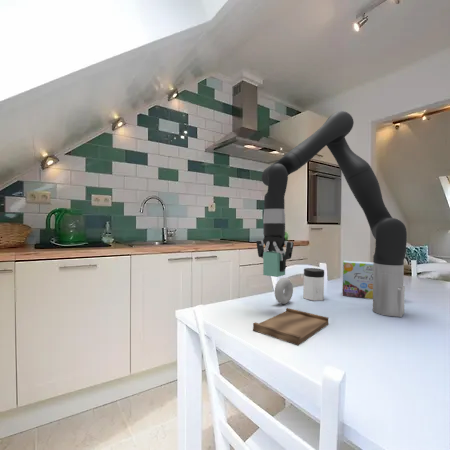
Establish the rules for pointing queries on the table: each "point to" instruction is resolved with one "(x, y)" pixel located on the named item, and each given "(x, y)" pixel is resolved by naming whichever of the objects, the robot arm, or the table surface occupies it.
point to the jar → (313, 284)
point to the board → (292, 326)
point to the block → (272, 264)
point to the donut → (283, 290)
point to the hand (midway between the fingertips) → (274, 270)
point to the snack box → (358, 279)
